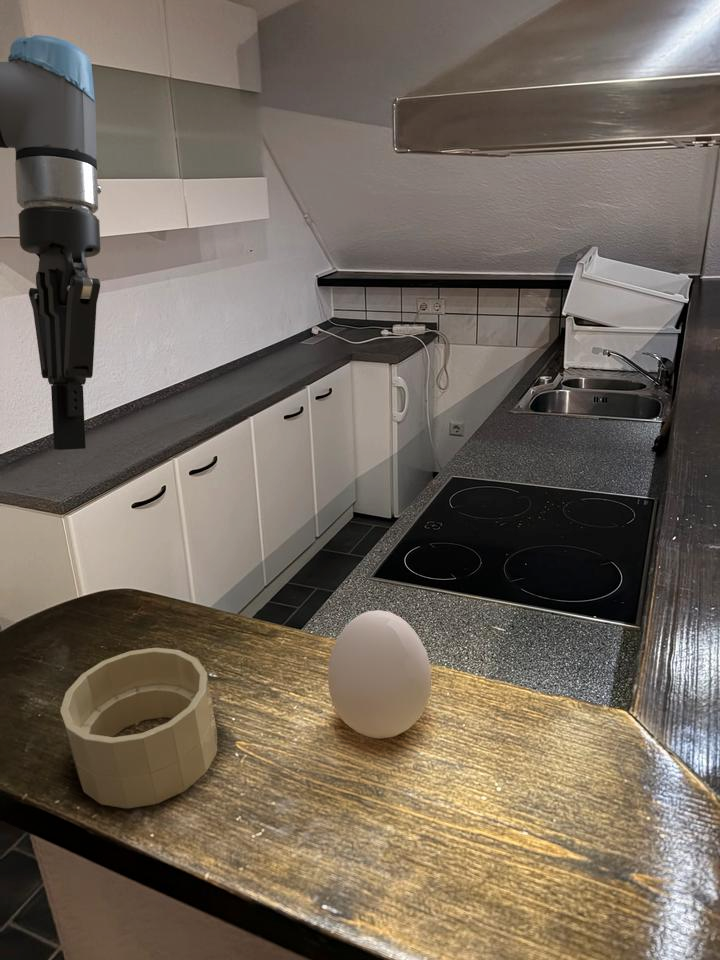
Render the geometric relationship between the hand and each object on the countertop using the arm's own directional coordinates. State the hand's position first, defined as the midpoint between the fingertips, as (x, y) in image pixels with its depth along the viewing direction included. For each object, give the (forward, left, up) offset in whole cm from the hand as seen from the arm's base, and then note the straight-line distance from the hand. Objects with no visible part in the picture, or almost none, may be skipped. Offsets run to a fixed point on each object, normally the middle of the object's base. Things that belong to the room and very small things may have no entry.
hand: (69, 448), depth 79 cm
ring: (+8, -26, -19) cm, 33 cm away
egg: (+27, -26, -19) cm, 42 cm away
